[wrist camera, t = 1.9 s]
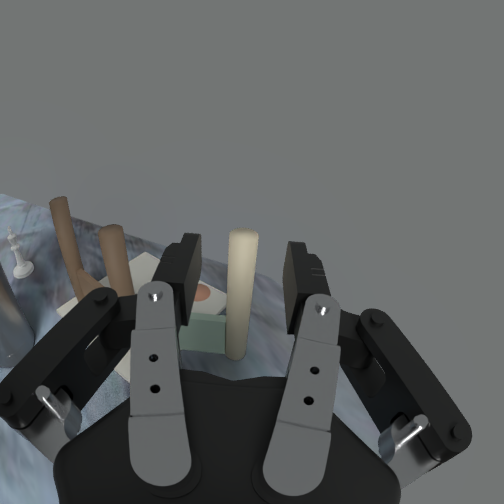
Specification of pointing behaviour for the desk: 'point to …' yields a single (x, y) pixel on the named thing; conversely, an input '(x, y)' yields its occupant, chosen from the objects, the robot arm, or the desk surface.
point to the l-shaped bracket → (228, 304)
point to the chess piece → (19, 258)
